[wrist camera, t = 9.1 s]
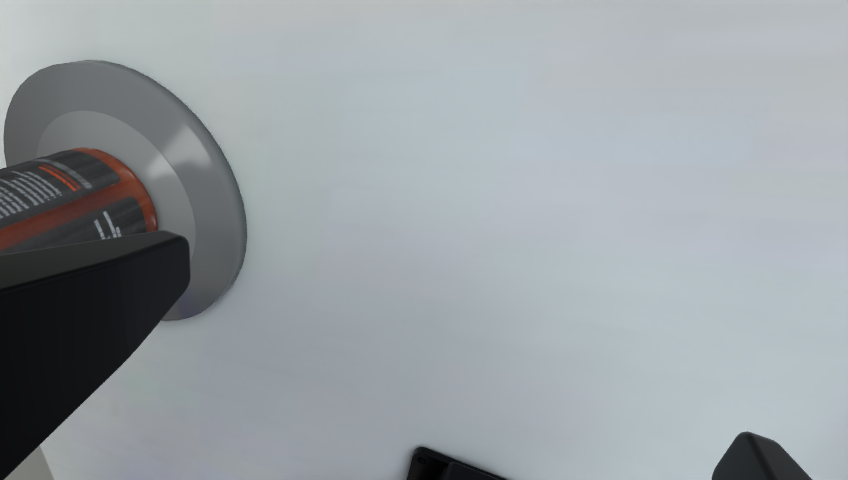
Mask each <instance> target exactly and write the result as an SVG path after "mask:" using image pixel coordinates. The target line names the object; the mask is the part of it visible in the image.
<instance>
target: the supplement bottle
mask: <svg viewBox="0 0 848 480" xmlns="http://www.w3.org/2000/svg"><path fill="white" fill-rule="evenodd" d="M152 231H158V220H157V213H156V211H155V207H154V205H153V201H152V199H151V197H150V196H149V194H148V192H147V190H146V188H145V187H144V185H143V183H142V182H141V181H140V180H139V178H138V177H137V176H136V175H135V173H134V172H133V171H132V170H131V169H130V168H128V167H127V166H126V165H125V164H124V163H122V162H121V161H120V160H118V159H117V158H115V157H113V156H112V155H110V154H108V153H106V152H103V151H101V150H98V149H93V148H87V147H82V148H74V149H70V150H66V151H60V152H57V153H53V154H50V155H46V156H43V157H39V158H36V159H33V160H30V161H26V162H23V163H20V164H16V165H13V166H10V167H7V168H3V169H0V255H5V254H11V253H18V252H24V251H31V250H37V249H43V248H50V247H56V246H63V245H69V244H75V243H82V242H88V241H95V240H101V239H108V238H114V237H120V236H127V235H133V234H140V233H146V232H152Z"/></svg>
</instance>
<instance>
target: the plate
mask: <svg viewBox="0 0 848 480" xmlns="http://www.w3.org/2000/svg"><path fill="white" fill-rule="evenodd" d="M82 147H87V148H93V149H98V150H101V151H103V152H106V153H108V154H110V155H112V156H113V157H115V158H117V159H118V160H120V161H121V162H122V163H124V164H125V165H126V166H127V167H128V168H130V169H131V170H132V171H133V172H134V173H135V175H136V176H137V177H138V178H139V180H140V181H141V182H142V183H143V185H144V187H145V188H146V190H147V192H148V194H149V196H150V197H151V199H152V201H153V205H154V207H155V211H156V213H157V220H158V231H159V230H167V231H170V232H173V233H176V234H179V235H182V236H184V237H185V238H186V239H187V240H188V242H189V246H190V269H191V279H190V283H189V286H188V288H187V289H186V291H185V292H184V294H183V295H182V296H181V297H180V298H179V299H178V301H177V302H176V303H175V304H174V305H173V307H172V308H171V309H170V310H169V311H168V313H167V314H166V315H165V316H164V317H163V318H162V320H161V321H172V320H181V319H185V318H189V317H192V316H194V315H196V314H198V313H201V312H202V311H203V310H205V309H206V308H208V307H209V306H210V305H212V304H213V303H214V302H215V301H217V300H218V299H219V298H220V297H222V296H223V295H224V294H225V293H226V292H227V291H228V289H229V288H230V287H231V286H232V284H233V283H234V281H235V280H236V278H237V277H238V274H239V272H240V270H241V267H242V264H243V260H244V256H245V252H246V241H247V228H246V217H245V211H244V205H243V201H242V198H241V194H240V191H239V187H238V184H237V182H236V179H235V177H234V174H233V172H232V169H231V167H230V165H229V163H228V162H227V160H226V158H225V156H224V154H223V152H222V150H221V149H220V147H219V146H218V144H217V143H216V141H215V139H214V138H213V136H212V135H211V133H210V132H209V131H208V130H207V128H206V127H205V126H204V125H203V123H202V122H201V121H200V120H199V118H198V117H197V116H196V115H195V114H194V113H193V112H192V111H191V110H190V109H189V108H188V107H187V106H186V105H185V104H184V103H183V102H182V101H181V100H180V99H179V98H177V97H176V96H175V95H174V94H173V93H171V92H170V91H169V90H168V89H166V88H165V87H163V86H162V85H160V84H159V83H157V82H156V81H154V80H153V79H151V78H150V77H148V76H146V75H144V74H142V73H140V72H138V71H136V70H134V69H131V68H128V67H125V66H123V65H120V64H116V63H111V62H106V61H97V60H84V61H77V62H70V63H64V64H57V65H52V66H49V67H46V68H44V69H41V70H39V71H37V72H36V73H34V74H33V75H31V76H30V77H28V78H27V79H26V80H25V81H24V82H23V83H22V84H21V85H20V87H19V88H18V90H17V91H16V93H15V94H14V96H13V98H12V100H11V103H10V105H9V108H8V111H7V115H6V120H5V126H4V153H5V159H6V165H7V167H10V166H13V165H16V164H20V163H23V162H26V161H30V160H33V159H36V158H39V157H43V156H46V155H50V154H53V153H57V152H60V151H66V150H70V149H74V148H82Z"/></svg>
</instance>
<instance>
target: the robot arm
mask: <svg viewBox="0 0 848 480" xmlns="http://www.w3.org/2000/svg"><path fill="white" fill-rule="evenodd" d="M190 279H191V269H190V246H189V242H188V240H187V239H186V238H185V237H184V236H182V235H179V234H176V233H173V232H170V231H167V230H159V231H152V232H146V233H140V234H133V235H127V236H120V237H114V238H108V239H101V240H95V241H88V242H82V243H75V244H69V245H63V246H56V247H50V248H43V249H37V250H31V251H24V252H18V253H11V254H5V255H0V480H4V479H5V478H6V477H7V476H8V475H9V474H10V473H11V472H12V471H13V470H14V469H15V468H16V467H17V466H18V465H19V464H20V463H21V462H22V461H24V459H26V458H27V457H28V456H29V455H30V454H31V453H32V452H33V451H34V450H35V449H36V448H37V447H38V446H39V445H40V444H41V443H42V442H43V441H44V440H45V439H46V438H47V437H48V436H49V435H50V434H51V433H52V432H53V431H54V430H55V429H56V428H57V427H58V426H60V425H61V424H62V423H63V422H64V421H65V420H66V419H67V418H68V417H69V416H70V415H71V414H72V413H73V412H74V411H75V410H76V409H77V408H78V407H79V406H80V405H81V404H82V403H83V402H84V401H85V400H86V399H87V398H88V397H89V396H90V395H91V394H92V393H93V392H94V391H96V390H97V389H98V388H99V387H100V386H101V385H102V384H103V383H104V382H105V381H106V380H107V379H108V378H109V377H110V376H111V375H112V374H113V373H114V372H115V371H116V370H117V369H118V368H119V367H120V366H121V365H122V364H123V363H124V362H125V361H126V360H127V359H128V358H129V357H130V356H131V355H132V353H133V352H134V351H135V350H136V349H137V348H138V347H139V346H140V344H141V343H142V342H143V341H144V340H145V339H146V337H147V336H148V335H149V334H150V333H151V331H152V330H153V329H154V328H155V327H156V326H157V324H158V323H159V322H160V321H161V320H162V318H163V317H164V316H165V315H166V314H167V313H168V311H169V310H170V309H171V308H172V307H173V305H174V304H175V303H176V302H177V301H178V299H179V298H180V297H181V296H182V295H183V294H184V292H185V291H186V289H187V288H188V286H189V283H190ZM407 480H506V479H504V478H501V477H499V476H496V475H494V474H491V473H489V472H486V471H483V470H481V469H478V468H476V467H473V466H471V465H468V464H466V463H463V462H460V461H458V460H455V459H453V458H450V457H448V456H445V455H443V454H440V453H437V452H435V451H432V450H430V449H427V448H424V447H419V448H417V449H416V450H415V452H414V455H413V457H412V461H411V465H410V469H409V473H408V477H407ZM712 480H812V479H811V478H810V477H809V476H808V475H807V474H806V472H805V471H804V470H803V469H802V468H801V467H800V466H799V465H798V464H797V463H796V462H795V461H794V460H793V459H792V458H791V456H790V455H789V454H788V453H787V452H786V451H785V450H784V449H783V448H782V447H781V446H780V445H779V444H778V443H777V442H775V441H774V440H771V439H768V438H765V437H763V436H760V435H757V434H754V433H751V432H742V433H740V434H739V435H738V436H737V437H736V438H735V440H734V441H733V443H732V444H731V445H730V447H729V448H728V450H727V451H726V453H725V454H724V456H723V457H722V459H721V460H720V462H719V463H718V464H717V466H716V468H715V470H714V472H713V475H712Z"/></svg>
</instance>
